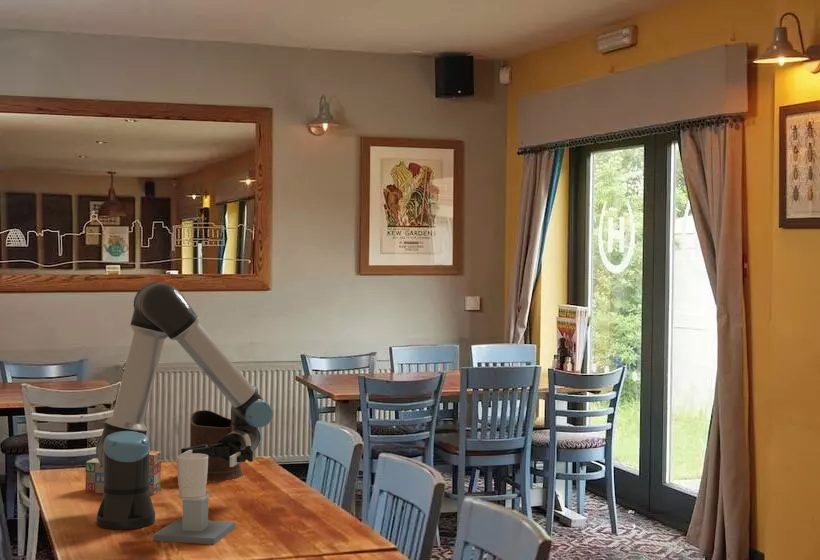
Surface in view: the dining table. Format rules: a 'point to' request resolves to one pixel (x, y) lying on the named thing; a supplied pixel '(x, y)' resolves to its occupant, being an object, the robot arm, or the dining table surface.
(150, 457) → the stack of blocks
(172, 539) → the narrow pillar
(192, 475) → the white cup
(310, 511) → the dining table surface
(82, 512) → the dining table surface
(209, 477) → the cup holder
